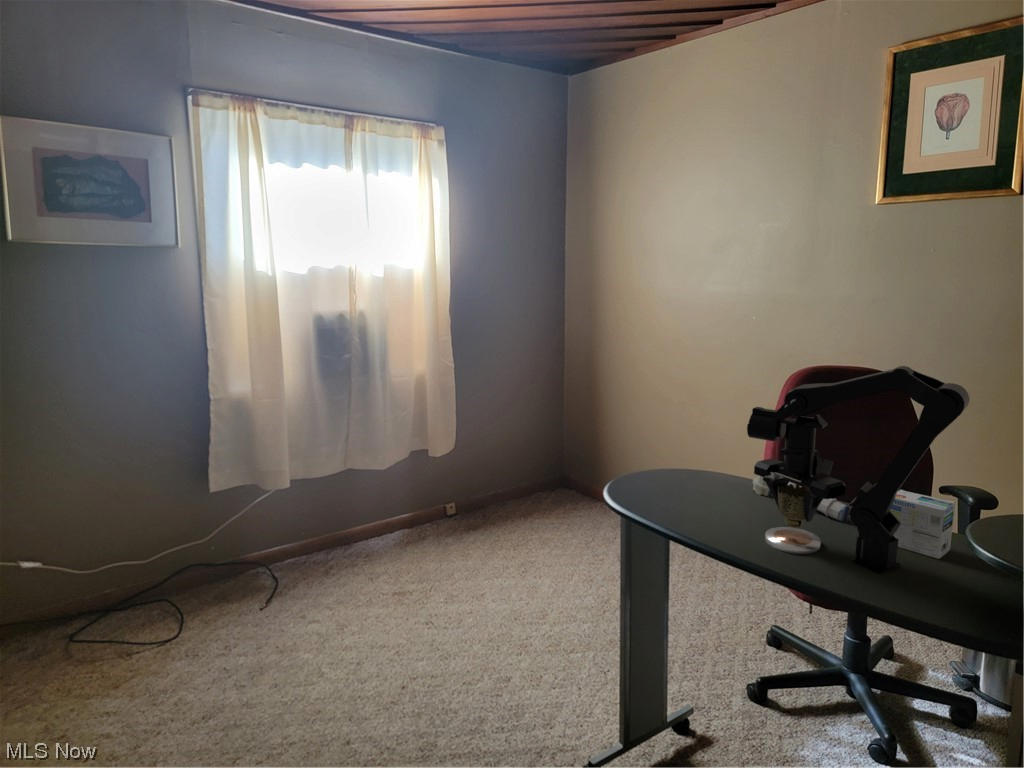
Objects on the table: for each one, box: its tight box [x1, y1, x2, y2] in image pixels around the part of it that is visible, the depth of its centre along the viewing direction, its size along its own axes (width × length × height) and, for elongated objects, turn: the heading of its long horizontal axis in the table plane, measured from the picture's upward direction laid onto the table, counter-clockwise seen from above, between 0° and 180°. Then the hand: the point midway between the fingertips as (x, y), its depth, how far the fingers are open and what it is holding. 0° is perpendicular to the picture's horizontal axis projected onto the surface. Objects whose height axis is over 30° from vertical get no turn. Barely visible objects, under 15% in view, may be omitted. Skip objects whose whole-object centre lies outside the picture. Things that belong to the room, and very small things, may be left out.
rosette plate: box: [764, 526, 821, 555], centre depth 143 cm, size 11×11×1 cm
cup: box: [778, 483, 810, 528], centre depth 141 cm, size 8×7×8 cm
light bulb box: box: [890, 489, 956, 560], centre depth 139 cm, size 11×7×11 cm, turn 41°
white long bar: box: [752, 475, 851, 522], centre depth 164 cm, size 5×7×25 cm
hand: (794, 515), depth 141 cm, fingers closed on cup, 6 cm apart
